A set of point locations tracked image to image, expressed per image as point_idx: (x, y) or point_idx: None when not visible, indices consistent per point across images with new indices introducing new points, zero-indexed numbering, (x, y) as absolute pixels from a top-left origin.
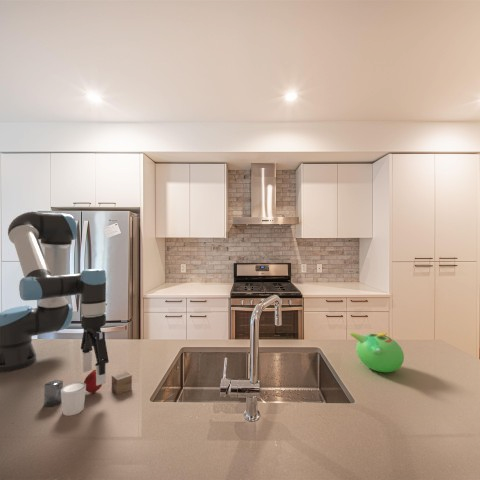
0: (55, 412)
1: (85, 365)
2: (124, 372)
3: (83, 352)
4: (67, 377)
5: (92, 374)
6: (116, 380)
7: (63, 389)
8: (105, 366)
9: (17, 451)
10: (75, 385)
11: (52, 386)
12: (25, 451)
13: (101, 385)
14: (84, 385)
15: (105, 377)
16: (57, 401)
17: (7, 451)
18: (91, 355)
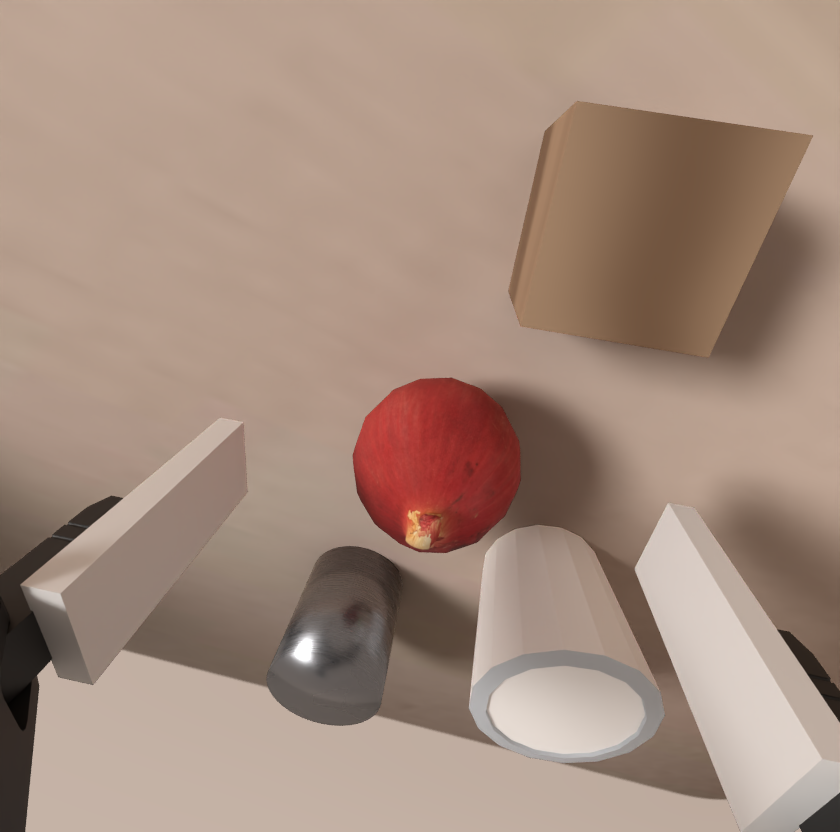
0: (474, 614)
1: (208, 524)
2: (609, 156)
3: (37, 679)
4: (40, 403)
5: (452, 541)
6: (674, 348)
7: (520, 742)
8: (818, 694)
9: (628, 758)
10: (539, 693)
11: (361, 708)
12: (658, 751)
13: (503, 410)
14: (620, 675)
15: (724, 554)
16: (399, 599)
17: (593, 766)
18: (114, 546)
